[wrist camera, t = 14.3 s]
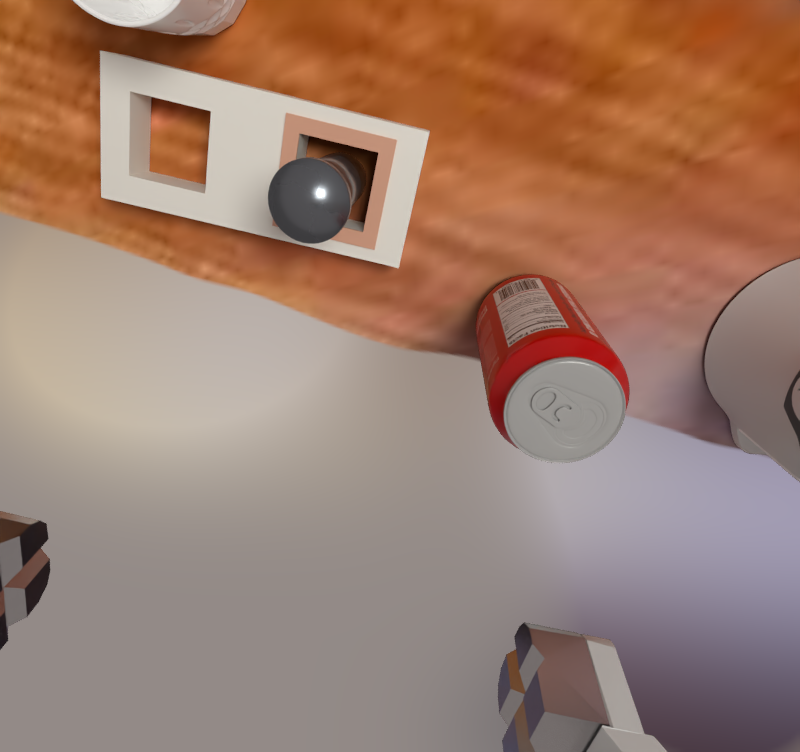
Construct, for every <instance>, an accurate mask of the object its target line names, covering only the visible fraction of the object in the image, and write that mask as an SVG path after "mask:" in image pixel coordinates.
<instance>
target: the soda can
mask: <svg viewBox="0 0 800 752" xmlns="http://www.w3.org/2000/svg"><path fill="white" fill-rule="evenodd" d="M476 336H477V342H478V348H479V354H480V360H481V365H482V371H483V377H484V383H485V389H486V394H487V400H488V406H489V410H490V414H491V417H492V420H493V422H494V424H495V426H496V427H497V429H498V431H499V432H500V434H501V435H502V436H503V437H504V438H505V439H506V440H507V441H508V442H509V443H511V444H512V445H513V446H515V447H516V448H518V449H520V450H521V451H523V452H524V453H525V454H527V455H529V456H531V457H533V458H535V459H538V460H541V461H545V462H551V463H568V462H574V461H578V460H582V459H584V458H587V457H589V456H592V455H594V454H595V453H597V452H599V451H600V450H602V449H603V448H604V447H605V446H606V445H608V444H609V443H610V442H611V441H612V440H613V438H614V437H615V436H616V435H617V433H618V431H619V430H620V428H621V426H622V423H623V420H624V417H625V412H626V409H627V405H628V401H629V382H628V377H627V374H626V371H625V368H624V366H623V364H622V363H621V361H620V359H619V358H618V356H617V355H616V354H615V352H614V351H613V349H612V348H611V347H610V345H609V344H608V343H607V341H606V340H605V338H604V337H603V336H602V334H601V333H600V332H599V330H598V329H597V327H596V326H595V325H594V323H593V322H592V321H591V319H590V318H589V317H588V315H587V314H586V312H585V311H584V310H583V308H582V307H581V306H580V304H579V303H578V301H577V300H576V299H575V297H574V296H573V295H572V294H571V292H570V291H569V290H568V289H567V288H566V287H565V286H563V285H562V284H561V283H559V282H558V281H556V280H554V279H552V278H549V277H546V276H542V275H534V274H528V275H520V276H516V277H513V278H510V279H508V280H506V281H504V282H502V283H500V284H499V285H498V286H496V287H495V288H494V289H493V290H492V291H491V292H490V293H489V294H488V295H487V296H486V298H485V299H484V300H483V302H482V304H481V306H480V308H479V311H478V314H477V319H476Z"/></svg>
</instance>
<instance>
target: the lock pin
mask: <svg viewBox="0 0 800 752" xmlns="http://www.w3.org/2000/svg"><path fill="white" fill-rule="evenodd" d="M365 185H366V174H365V171H364V168H363V166H362V164H361V163H360V162H359V160H358V159H357V158H355V157H354V156H352V155H351V154H348V153H345V152H334V153H331V154H329V155H326V156H324V157H322V158H314V157H304V158H299V159H296V160H293V161H291V162H288V163H287V164H285V165H284V166H282V167H281V168H280V169H279V170H278V171H277V172H276V174H275V175H274V177H273V179H272V181H271V183H270V186H269V191H268V205H269V210H270V213H271V215H272V218H273V220H274V221H275V223H276V225H277V226H278V227H279V228H280V229H281V230H282V231H283V232H284V233H285V234H286V235H287V236H289V237H290V238H292V239H294V240H296V241H299V242H302V243H308V244H315V243H321V242H325V241H327V240H329V239H331V238H333V237H334V236H335V235H337V234H338V233H339V232H340V230H341V229H342V228H343V227H344V225H345V224H346V222H347V220H348V218H349V215H350V212H351V206H352V205H353V204H354V203H355V202H356V201H357V200H358V198H359V197H360V196H361V195H362V193H363V191H364V189H365Z"/></svg>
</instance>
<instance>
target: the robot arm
mask: <svg viewBox="0 0 800 752" xmlns="http://www.w3.org/2000/svg"><path fill="white" fill-rule="evenodd" d="M705 376H706V381H707V384H708V387H709V390H710V392H711V394H712V396H713V398H714V399H715V401H716V402H717V403H718V404H719V406H720V407H721V408H722V409H723V410H724V412H725V413H726V414H727V416H728V418H729V420H730V426H731V433H732V437H733V440H734V442H735V444H736V445H737V446H738V447H739V448H740V449H742V450H743V451H744V452H746V453H749V454H763V455H768V456H769V457H770V458H771V459H773V460H774V461H775V462H776V463H777V464H779V465H780V466H781V467H782V468H783V469H784V470H786V471H787V472H788V473H789V474H790V475H792V476H793V477H794V478H795V479H796V480H798V481H799V482H800V259H797V260H794V261H791V262H788V263H786V264H783V265H781V266H779V267H777V268H775V269H773V270H771V271H769V272H767V273H766V274H764V275H762V276H761V277H759V278H758V279H756V280H755V281H753V282H752V283H751V284H750V285H748V286H747V287H746V288H745V289H744V290H742V291H741V292H740V293H739V294H738V295H737V296H736V297H735V298H734V299H733V300H732V301H731V303H730V304H729V305H728V306H727V308H726V309H725V310H724V312H723V313H722V314H721V316H720V317H719V319H718V321H717V323H716V324H715V326H714V328H713V330H712V333H711V335H710V338H709V341H708V344H707V348H706V353H705ZM47 540H48V532H47V524H46V523H44V522H41V521H39V520H35V519H31V518H27V517H22V516H18V515H14V514H10V513H6V512H1V511H0V650H1V648H2V647H3V646H4V645H5V643H6V642H7V641H8V626H10V625H12V624H14V623H16V622H18V621H20V620H22V619H24V618H26V617H27V616H28V615H29V614H30V612H31V611H32V610H33V609H34V607H35V606H36V605H37V603H38V602H39V600H40V598H41V596H42V594H43V592H44V590H45V588H46V586H47V583H48V579H49V574H50V559H49V558H48V557H47V555H46V554H45V553H44V552H43V550H42V549H41V547H42V546H43V544H44V543H45V542H46V541H47ZM515 644H516V650H514V651H512V652H510V653H508V654H507V655H506V657H505V660H504V662H503V665H502V667H501V672H500V678H499V683H498V702H499V713H500V715H501V716H502V718H503V719H504V721H505V722H506V724H507V725H508V729H507V731H506V734H505V736H504V738H503V740H502V743H503V751H504V752H667V751H666V750H665V749H664V748H663V746H662V745H661V744H660V743H659V742H658V741H657V739H656V738H655V737H654V736H651V735H647V734H645V733H644V731H643V728H642V725H641V722H640V719H639V716H638V713H637V710H636V707H635V704H634V701H633V699H632V695H631V692H630V690H629V687H628V684H627V681H626V678H625V675H624V672H623V669H622V666H621V663H620V660H619V657H618V654H617V652H616V649H615V646H614V644H613V643H612V642H611V641H610V640H608V639H604V638H599V637H594V636H589V635H584V634H578V633H575V632H570V631H565V630H560V629H555V628H550V627H545V626H540V625H535V624H530V623H525V622H524V623H523V624H522V625H521V626H520V627H519V628H518V631H517V633H516V635H515Z"/></svg>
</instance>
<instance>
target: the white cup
mask: <svg viewBox="0 0 800 752" xmlns="http://www.w3.org/2000/svg"><path fill="white" fill-rule="evenodd" d="M73 1H74V2H75V3H76V4H77V5H78V6H80V7H81V8H82V9H83V10H85V11H86V12H88V13H89V14H91V15H92V16H94V17H96V18H98V19H100V20H102V21H104V22H107V23H110V24H113V25H117V26H123V27H129V28H136V29H142V30H148V31H153V32H159V33H166V34H175V35H216V34H217V33H219V32H221V31H222V30H224V29H226V28H227V27H229V26H231V25H232V24H234V22H235V20H236V19H237V17H238V15H239V13H240V12H241V10H242V8H243V7H244V5H245V3H246V0H73Z"/></svg>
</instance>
